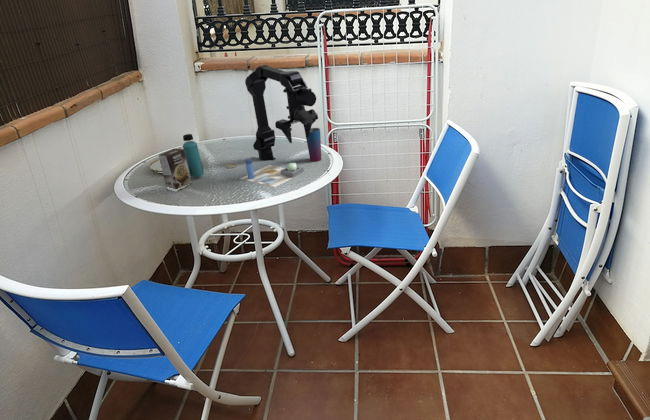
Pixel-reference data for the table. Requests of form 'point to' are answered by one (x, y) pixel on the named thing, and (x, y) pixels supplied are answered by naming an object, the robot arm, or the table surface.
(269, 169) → the beige flat board
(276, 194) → the table surface
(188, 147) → the beverage bottle
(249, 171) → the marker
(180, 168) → the coffee box
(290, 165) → the button
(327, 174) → the table surface
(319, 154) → the cup
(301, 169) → the button housing
